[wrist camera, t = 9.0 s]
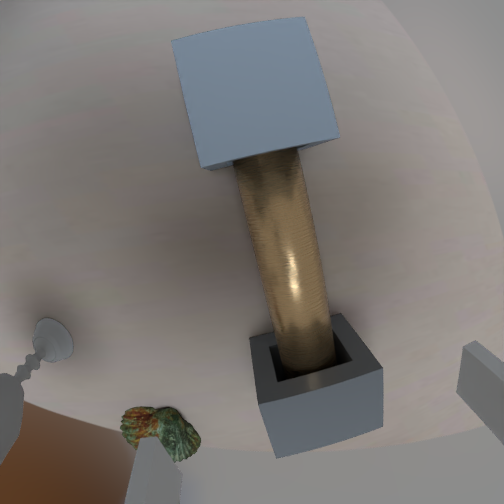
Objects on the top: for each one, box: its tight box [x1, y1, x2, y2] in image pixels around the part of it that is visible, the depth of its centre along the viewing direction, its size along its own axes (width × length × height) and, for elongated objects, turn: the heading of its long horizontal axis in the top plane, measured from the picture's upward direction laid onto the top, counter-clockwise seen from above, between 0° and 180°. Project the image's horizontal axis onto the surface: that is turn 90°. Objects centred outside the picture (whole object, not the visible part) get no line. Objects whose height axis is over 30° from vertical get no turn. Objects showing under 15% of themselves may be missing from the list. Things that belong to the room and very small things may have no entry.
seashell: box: [120, 407, 201, 463], centre depth 30 cm, size 10×4×10 cm
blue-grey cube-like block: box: [171, 17, 340, 171], centre depth 20 cm, size 8×8×9 cm
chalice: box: [0, 318, 74, 465], centre depth 19 cm, size 7×7×18 cm
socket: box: [249, 314, 383, 458], centre depth 25 cm, size 6×9×10 cm
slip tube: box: [232, 147, 337, 380], centre depth 23 cm, size 22×4×4 cm, turn 13°
